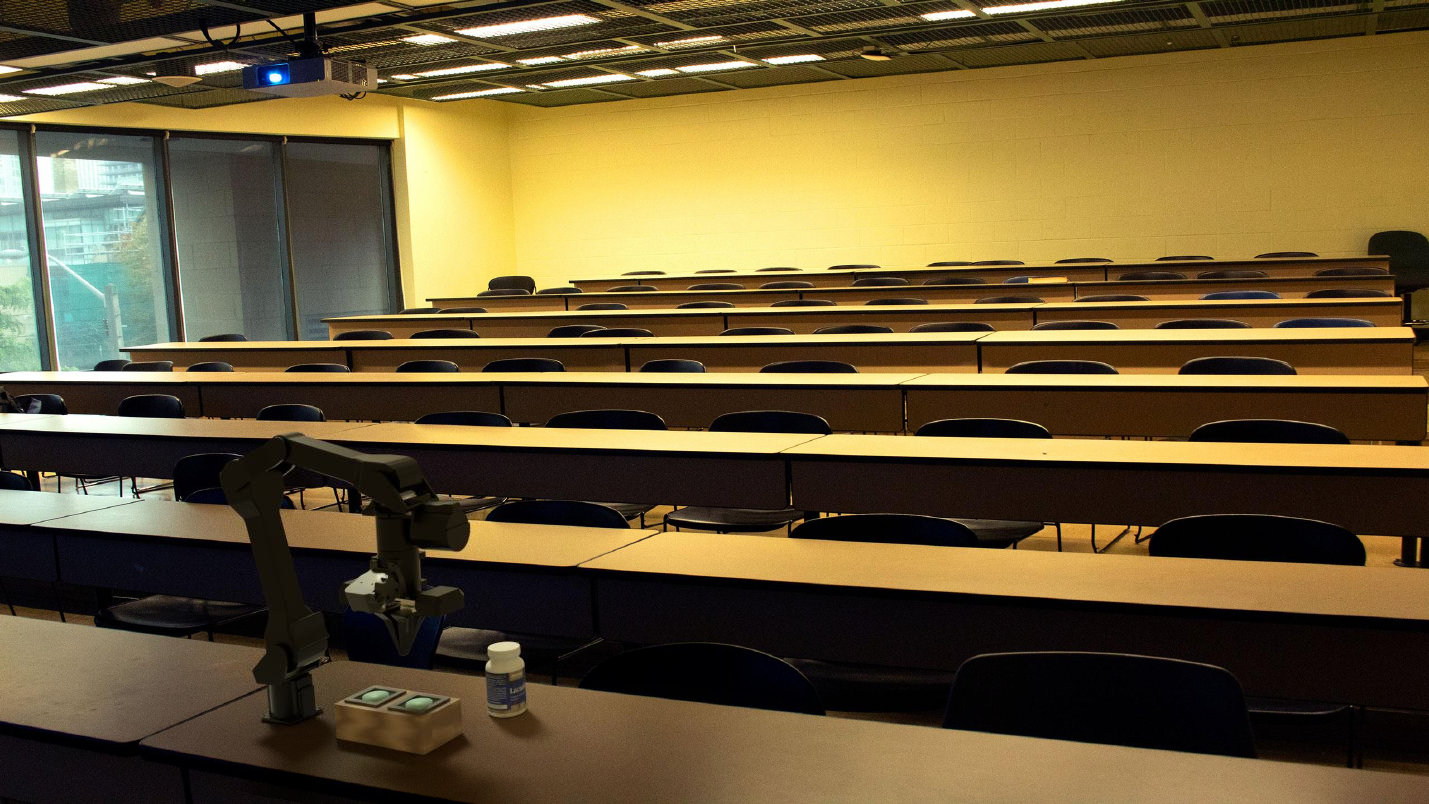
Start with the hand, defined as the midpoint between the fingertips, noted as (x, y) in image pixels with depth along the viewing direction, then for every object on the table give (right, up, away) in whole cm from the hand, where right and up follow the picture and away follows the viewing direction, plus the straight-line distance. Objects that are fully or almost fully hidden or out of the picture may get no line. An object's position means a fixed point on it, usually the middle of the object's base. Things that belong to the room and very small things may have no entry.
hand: (404, 654), depth 160 cm
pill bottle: (+14, -10, +6) cm, 18 cm away
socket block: (0, -11, -1) cm, 11 cm away
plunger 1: (-4, -11, +1) cm, 12 cm away
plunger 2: (+3, -11, -3) cm, 12 cm away
